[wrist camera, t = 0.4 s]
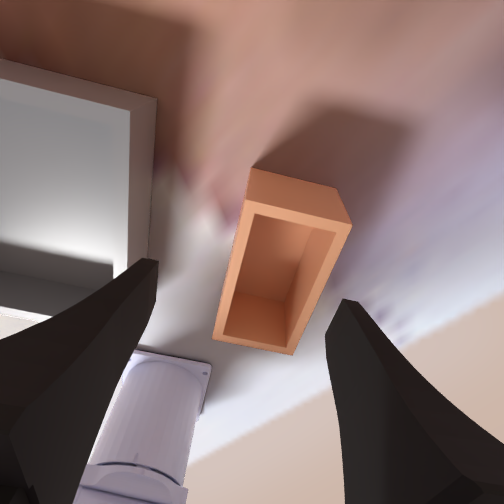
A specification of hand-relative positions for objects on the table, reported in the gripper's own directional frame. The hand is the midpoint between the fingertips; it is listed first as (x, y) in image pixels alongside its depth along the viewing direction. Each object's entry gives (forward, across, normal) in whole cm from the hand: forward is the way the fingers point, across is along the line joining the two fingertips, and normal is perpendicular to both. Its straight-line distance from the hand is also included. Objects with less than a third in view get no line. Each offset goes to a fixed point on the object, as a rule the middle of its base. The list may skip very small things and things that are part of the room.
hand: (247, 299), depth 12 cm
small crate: (+10, -2, +3) cm, 10 cm away
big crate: (+10, +13, +3) cm, 16 cm away
